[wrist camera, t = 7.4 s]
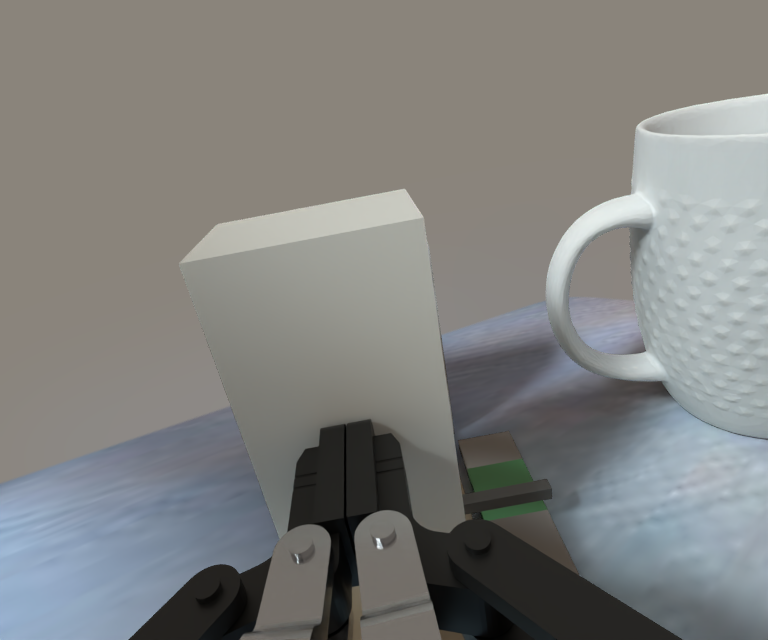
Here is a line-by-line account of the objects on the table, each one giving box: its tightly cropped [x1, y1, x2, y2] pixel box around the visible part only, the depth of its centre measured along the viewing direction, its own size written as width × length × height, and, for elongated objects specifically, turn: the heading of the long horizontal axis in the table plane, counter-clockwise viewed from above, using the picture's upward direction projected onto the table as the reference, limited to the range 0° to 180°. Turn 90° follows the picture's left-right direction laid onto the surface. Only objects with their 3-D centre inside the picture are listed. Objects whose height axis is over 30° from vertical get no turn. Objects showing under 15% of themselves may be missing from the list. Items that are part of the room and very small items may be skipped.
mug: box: [546, 94, 768, 439], centre depth 21 cm, size 15×11×13 cm
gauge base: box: [352, 243, 580, 640], centre depth 19 cm, size 14×10×10 cm
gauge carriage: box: [179, 189, 552, 539], centre depth 16 cm, size 4×10×12 cm, turn 94°
